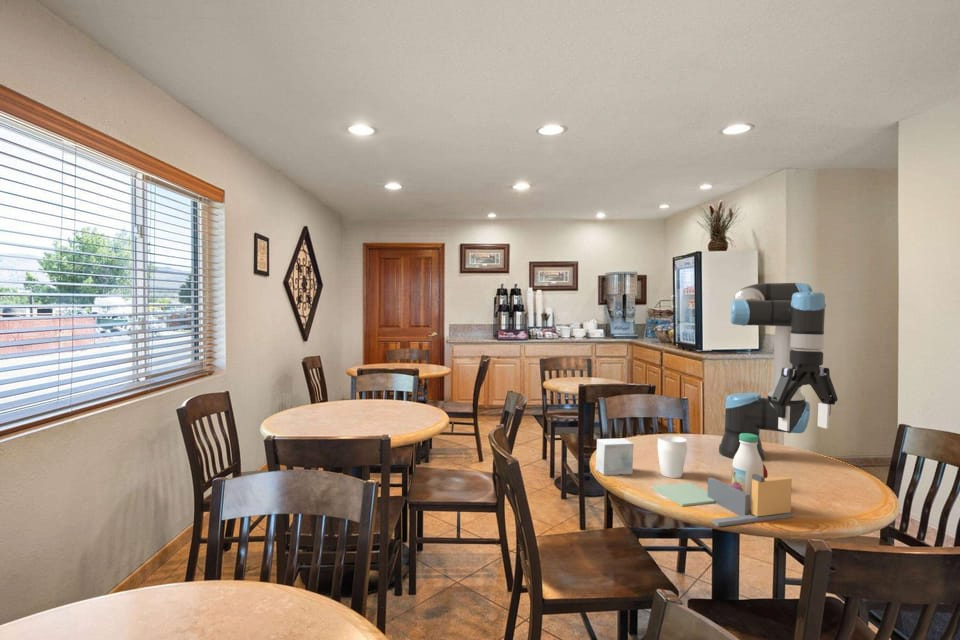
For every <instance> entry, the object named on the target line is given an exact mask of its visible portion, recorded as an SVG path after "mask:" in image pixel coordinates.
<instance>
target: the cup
mask: <svg viewBox="0 0 960 640" xmlns="http://www.w3.org/2000/svg"><path fill="white" fill-rule="evenodd" d="M687 445H688V443H687V439H686V438H685V437H681V436H678V435H668V434H666V435H665V434H663V435H659V436H657V455H658V463H659V471H660V475H661V476H663V477H666V478H669V479H679V478H682V477H683V472H684V467H685V461H686V456H687V451H688V449H687V448H688V446H687Z"/></svg>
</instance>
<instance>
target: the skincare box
mask: <svg viewBox="0 0 960 640" xmlns="http://www.w3.org/2000/svg"><path fill="white" fill-rule="evenodd" d="M595 457H596V458H595V470H596V471H597V472H599V473H600V474H601V475H603V476H619V474H623V475H633V465H634V464H633V463H634V443H633V442H632V441H630V440H628V439H627V438H623V437H621V438H598V439H596V456H595Z"/></svg>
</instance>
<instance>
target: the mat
mask: <svg viewBox="0 0 960 640" xmlns="http://www.w3.org/2000/svg"><path fill="white" fill-rule="evenodd" d="M650 489H652V490H654V491H655V492H657V493H659V494H661V495H662V496H664V497H666V498H667V499H669V500H670V501H673V502H674V503H676V504H677V505H679V506H681V507H688V506H697V505H704V504H705V505H706V504H707V505H708V504H714V503H715V500H713V499H711V498H709V497H708V490H706V489H704V488H702V487H701V486H698V485H696V484H694V483H692V482H682V483H679V482H678V483H672V484H660V485H651V487H650ZM715 504H716V503H715Z"/></svg>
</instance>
